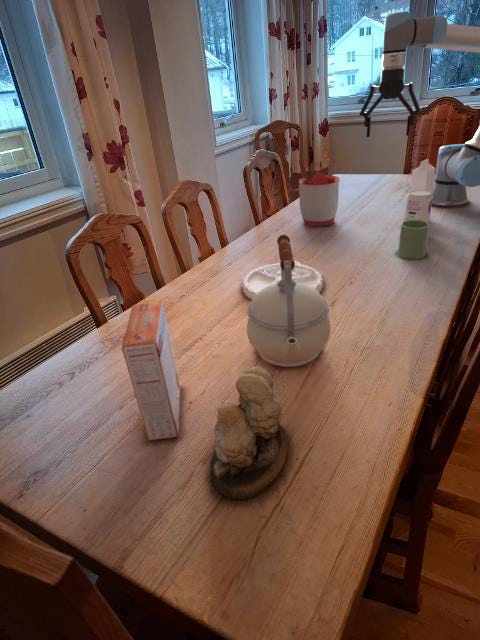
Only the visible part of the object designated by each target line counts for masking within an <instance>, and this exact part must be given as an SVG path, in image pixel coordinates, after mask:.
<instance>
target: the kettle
mask: <svg viewBox="0 0 480 640" xmlns="http://www.w3.org/2000/svg"><path fill="white" fill-rule="evenodd" d="M276 243H277V245H278V255H279V260H280V266H281V280H280V281H279V282H278V283H277V284H273V285H270V286H268V287H266V288H264V289H262V290H261V291H259V292H258V293H257V294H256V296H255V297H254V298H253V300H252V299H251V301H250V302H249V303H248V305H247V307H246V316H247V317H248V318H247V321H246V322H247V323H246V336H247V338H248V341H249V344H250V345H251V346H252V348H254V350H255V351H256V352H258V355H259V356H260V358H261V359H262V360H264V361H265V362H266V363H269V364H271V365H274V366H276V367H277V366H278V367H283V368H285V367H286V368H291V367H299V366H304V365H306V364H308V363H311V362H313V361H314V360H315V359H316V358H317V357H318V356H319V354H320V353H321V350H322V349H323V348H324V347H325V346H326V344H327V343H328V341H329V339H330V335H331V321H330V318H329V312H330V305H329V303H328V301H327V300H326V299H325V298H324V297H323V296H322V295H321V294H320V293H319V292H318V291H316V290H315V289H314V288H312V287H310V286H308V285H305V284H301V283H296V282H294V281H293V280H292V270H293V269H294V266H295V263H294V261H295V260H294V257H293V256H294V255H293V251H292V246H291V239H290V237H289V236H288V235H287V234H279V236H278V237H277V241H276Z"/></svg>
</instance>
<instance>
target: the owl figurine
mask: <svg viewBox="0 0 480 640" xmlns="http://www.w3.org/2000/svg"><path fill="white" fill-rule="evenodd" d="M235 389H236V391H237V393H238V394H239V396H238V404H235V403H230V402H228V403H224V404H221V405H220V406H219V408H217V414H216V422H215V425H214V429H213V434H214V436H215V437H214V445H215V447H214V452H213V455H212V457H211V463H210V470H209V471H210V473H209V474H210V481H211V482H212V484H213V486H214V487H213V488H214V489H215V491H216V492H217V493H218V494H219V495H221V496H223V497H225V498H226V499H230V500H232V501H248V500H252V499H255V498H256V497H258V496H260V495H261V494H263V493H264V492H266V491H267V490H268V489H269V488H270V487H271V486H272V485H273V484H274V483H275V481H277V480H278V478H279V476H281V473H282V471H283V470H284V467H285V464H286V462H287V459H288V454H289V438H288V435H287V432H286V430H285V428H284V427H283V426H282V425H281V420H280V419H281V417H282V407H281V401H280V399H279V396H278V392H277V390H276V389H275V388H274V380H273V378H272V376H271V374H270V373H269V372H268V371H267V370H266V369H265V368H264V367H262V366H259V365H258V366H257V365H253V366H250V367H248V368H246V369H245V370H244V371H243V373H242V374H241V375H240V376H238V379H237V380H236V382H235Z"/></svg>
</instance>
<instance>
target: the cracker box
mask: <svg viewBox="0 0 480 640" xmlns="http://www.w3.org/2000/svg"><path fill="white" fill-rule="evenodd" d="M121 351H122V354H123V357H124V361H125V364H126V369H127V371H128V375H129V378H130V382H131V385H132V389H133V392H134V396H135V399H136V402H137V406H138V410H139V413H140V417H141V421H142V423H143V427H144V430H145V435H146V438H147V440H148V441H149V442H150V441H156V440H164V439H173V438H179V436H180V411H181V390H182V389H181V382H180V379H179V373H178V369H177V364H176V360H175V355H174V351H173V346H172V341H171V337H170V331H169V327H168V321H167V316H166V312H165V308H164V303H163V301H156V302H149V303H148V302H147V303H138V304H132V306H131V309H130V314H129V317H128V322H127V324H126V329H125V333H124V337H123V340H122V344H121Z"/></svg>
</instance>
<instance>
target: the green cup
mask: <svg viewBox="0 0 480 640" xmlns="http://www.w3.org/2000/svg"><path fill="white" fill-rule="evenodd" d="M429 232H430V222H429V223H428V222H426V221H421V220H408V221H404V220H403V221H402V222H401V223H400V231H399V239H398V248H397V255H398V256H399V257H400V258H403V259H407V260H420V259H423V258H424V257H425V256H426V253H427V247H428V242H429V241H428V240H429Z"/></svg>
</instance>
